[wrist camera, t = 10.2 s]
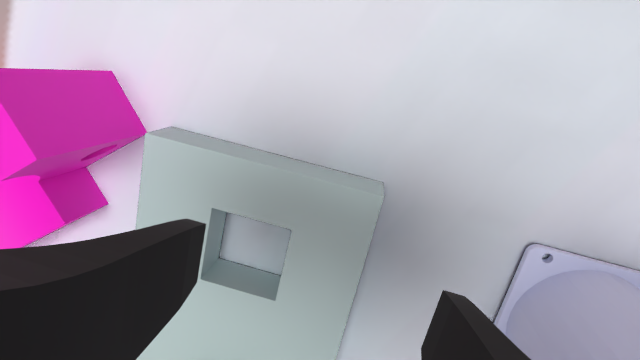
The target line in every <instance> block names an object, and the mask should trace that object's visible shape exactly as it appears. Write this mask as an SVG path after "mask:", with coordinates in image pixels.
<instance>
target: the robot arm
mask: <svg viewBox="0 0 640 360" xmlns="http://www.w3.org/2000/svg"><path fill="white" fill-rule="evenodd" d="M205 229H206V224H205V223H202V222H198V221H194V220H191V219H180V220H174V221H170V222H166V223H162V224H157V225H153V226H149V227H145V228H141V229H137V230H133V231H129V232H125V233H120V234H115V235H110V236H106V237H101V238H96V239H91V240H85V241H79V242H73V243H65V244H57V245H49V246H39V247H25V248H11V249H0V360H136V359H137V358H138V357H139V356H140V354H141V353H142V352H143V351H144V350H145V349H146V348H147V346H148V345H149V344H150V343H151V342H152V341H153V340H154V338H155V337H156V336H157V335H158V334H159V333H160V332H161V330H162V329H163V328H164V327H165V326H166V325H167V323H168V322H169V321H170V320H171V319H172V318H173V316H174V315H175V314H176V313H177V312H178V311H179V309H180V308H181V306H182V305H183V303H184V302H185V301H186V299H187V298H188V296H189V294H190V293H191V291H192V290H193V288H194V286H195V285H196V283H197V279H198V273H199V267H200V260H201V254H202V248H203V242H204V235H205ZM545 254H550V256H549V258H548V259H545V260H544V259H542V257H543V256H544V255H545ZM421 356H422V360H640V271H637V270H633V269H630V268H626V267H622V266H618V265H615V264H611V263H607V262H603V261H600V260H596V259H592V258H588V257H585V256H581V255H577V254H573V253H570V252H566V251H562V250H559V249H555V248H551V247H547V246H544V245H540V244H532V245H530V246H528V247H527V249H526V250H525V252H524V255H523V257H522V259H521V262H520V264H519V266H518V268H517V271H516V273H515V275H514V278H513V280H512V282H511V285H510V287H509V289H508V292H507V294H506V296H505V299H504V301H503V303H502V305H501V308H500V310H499V312H498V315H497V317H496V319H495V322H494V324H493V323H492V322H491V321H490V320H489V319H488V318H487V317H486V316H485V315H484V314H483V313H482V312H481V311H480V310H479V309H478V308H477V307H476V306H475V305H474V304H473V303H472V302H471V301H470V300H468V299H467V298H466V297H465V296H462V295H458V294H455V293H451V292H447V291H444V290H443V292H442V294H441V297H440V300H439V302H438V305H437V308H436V310H435V313H434V316H433V318H432V321H431V324H430V326H429V329H428V332H427V334H426V337H425V340H424V342H423V345H422V348H421Z"/></svg>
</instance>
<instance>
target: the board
mask: <svg viewBox="0 0 640 360" xmlns="http://www.w3.org/2000/svg"><path fill="white" fill-rule="evenodd" d="M383 200H384V185H383V182H379V181H375V180H372V179H368V178H364V177H360V176H356V175H353V174H349V173H345V172H341V171H338V170H334V169H330V168H326V167H322V166H319V165H315V164H311V163H307V162H303V161H300V160H296V159H292V158H288V157H284V156H281V155H277V154H273V153H269V152H265V151H262V150H258V149H254V148H250V147H246V146H243V145H239V144H235V143H231V142H227V141H224V140H220V139H216V138H212V137H209V136H205V135H201V134H197V133H193V132H190V131H186V130H182V129H178V128H174V127H168V128H164V129H160V130H156V131H152V132H147V133H145V141H144V151H143V161H142V170H141V180H140V190H139V200H138V210H137V220H136V230H137V229H141V228H145V227H149V226H153V225H157V224H162V223H166V222H170V221H174V220H180V219H191V220H194V221H198V222H202V223H205V224H206V229H205V235H204V242H203V248H202V254H201V260H200V267H199V273H198V279H197V283H196V285H195V286H194V288H193V290H192V291H191V293H190V294H189V296H188V298H187V299H186V301H185V302H184V303H183V305H182V306H181V308H180V309H179V311H178V312H177V313H176V314H175V315H174V316H173V318H172V319H171V320H170V321H169V322H168V323H167V325H166V326H165V327H164V328H163V329H162V330H161V332H160V333H159V334H158V335H157V336H156V337H155V338H154V340H153V341H152V342H151V343H150V344H149V345H148V346H147V348H146V349H145V350H144V351H143V352H142V353H141V354H140V356H139V357H138V358H137V359H136V360H336V357H337V353H338V350H339V347H340V343H341V340H342V337H343V333H344V330H345V327H346V323H347V320H348V316H349V313H350V310H351V306H352V303H353V300H354V296H355V293H356V290H357V286H358V283H359V280H360V276H361V273H362V270H363V266H364V263H365V260H366V256H367V253H368V250H369V246H370V243H371V240H372V236H373V233H374V230H375V226H376V223H377V220H378V216H379V213H380V210H381V206H382V203H383ZM226 212H229V213H232V214H236V215H239V216H243V217H247V218H250V219H254V220H258V221H261V222H265V223H268V224H272V225H276V226H279V227H283V228H286V229H290V230H292V231H291V235H290V239H289V244H288V248H287V252H286V257H285V261H284V265H283V270H282V274H281V276H279V275H276V274H272V273H269V272H265V271H262V270H258V269H255V268H251V267H248V266H244V265H241V264H237V263H234V262H230V261H227V260H223V259H220V258H219V253H220V247H221V241H222V235H223V230H224V224H225V218H226Z"/></svg>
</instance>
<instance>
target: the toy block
mask: <svg viewBox="0 0 640 360" xmlns="http://www.w3.org/2000/svg"><path fill="white" fill-rule="evenodd" d="M145 133H147V131H146V130H145V128H144V126H143V125H142V123H141V121H140V119H139V118H138V116H137V114H136V112H135V111H134V109H133V107H132V105H131V104H130V102H129V100H128V99H127V97H126V95H125V93H124V92H123V90H122V88H121V86H120V85H119V83H118V81H117V79H116V78H115V76H114V74H113V73H112V71H92V70H53V69H13V68H0V249H11V248H22V247H24V246H26V245H28V244H30V243H32V242H34V241H36V240H38V239H40V238H42V237H44V236H46V235H48V234H50V233H52V232H54V231H56V230H58V229H60V228H62V227H64V226H66V225H68V224H70V223H72V222H74V221H75V220H77V219H79V218H81V217H83V216H85V215H87V214H89V213H91V212H93V211H95V210H97V209H99V208H101V207H103V206H105V205H107V204H108V202H107V200H106V199H105V197H104V196H103V194H102V192H101V191H100V189H99V187H98V186H97V184H96V183H95V181H94V179H93V178H92V176H91V175H90V173H89V171H88V170H87V168H86V166H88V165H90V164H92V163H94V162H96V161H97V160H99V159H101V158H103V157H105V156H107V155H108V154H110V153H112V152H114V151H116V150H117V149H119V148H121V147H123V146H125V145H127V144H128V143H130V142H132V141H134V140H136V139H138V138H139V137H141V136H143V135H145Z"/></svg>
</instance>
